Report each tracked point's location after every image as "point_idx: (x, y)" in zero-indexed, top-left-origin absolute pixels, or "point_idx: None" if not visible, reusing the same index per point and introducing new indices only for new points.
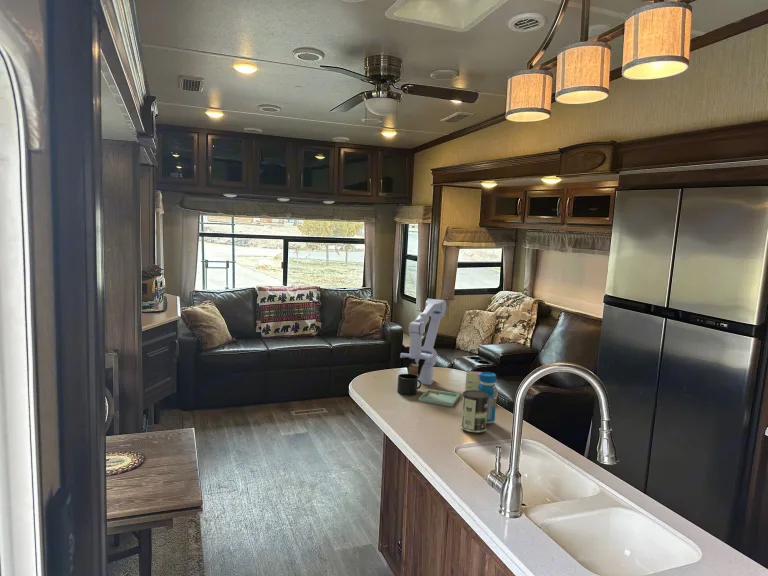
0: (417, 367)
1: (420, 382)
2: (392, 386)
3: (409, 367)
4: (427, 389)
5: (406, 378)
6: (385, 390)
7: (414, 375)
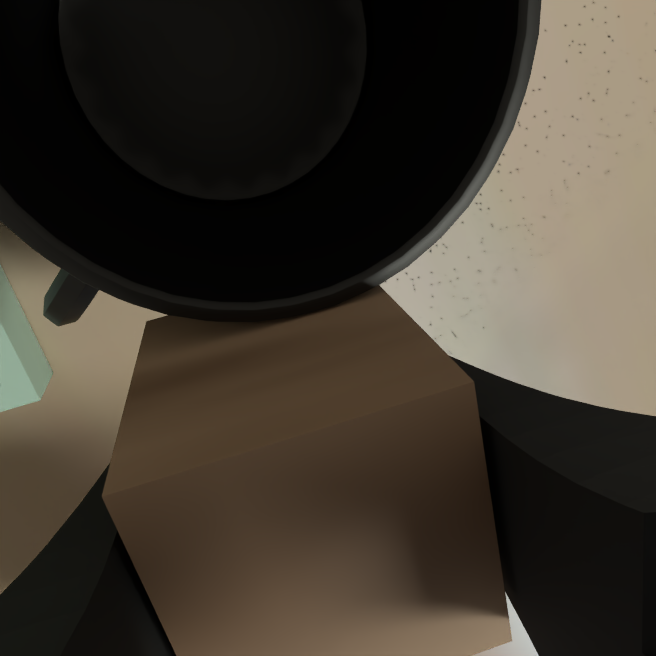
0: (114, 504)
1: (46, 298)
2: (575, 259)
3: (422, 378)
4: (19, 376)
5: (371, 215)
6: (591, 8)
7: (179, 293)
